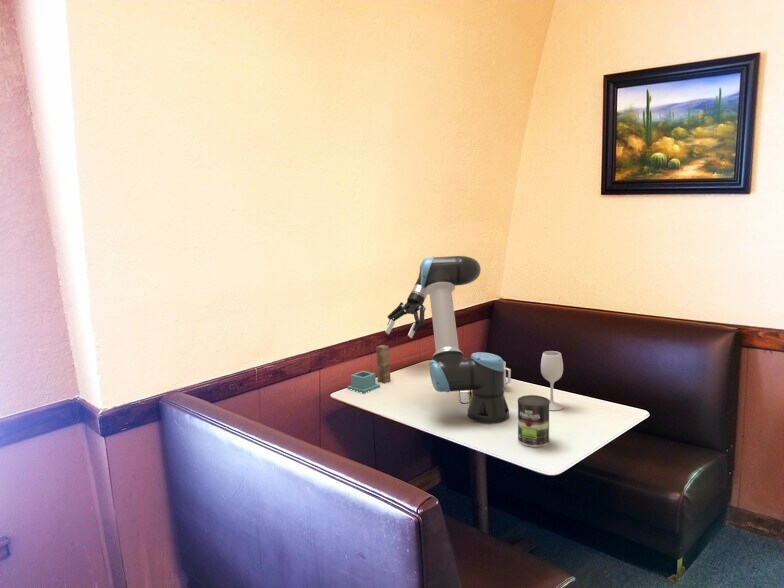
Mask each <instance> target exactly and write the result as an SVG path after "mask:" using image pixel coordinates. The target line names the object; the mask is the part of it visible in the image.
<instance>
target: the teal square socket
mask: <svg viewBox="0 0 784 588" xmlns="http://www.w3.org/2000/svg"><path fill="white" fill-rule="evenodd" d="M350 380H351V381H350V383H351V385H347V386H346V387H347V390H348V389H352V390H355V391H354V392H356V391H358V392H357V393H360V392H362V393H361V394H367V393H369V392H372V391H374V390H377V389H379V388H381V384H379V383H377V382H376V373H375V372H370V371H365V370H360V371H359V372H355V373H353V374H351V375H350ZM376 388H377V389H376ZM373 389H374V390H373ZM352 390H351V391H352ZM371 390H372V391H371ZM368 391H369V392H368ZM366 392H367V393H366Z"/></svg>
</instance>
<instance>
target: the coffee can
mask: <svg viewBox="0 0 784 588" xmlns="http://www.w3.org/2000/svg"><path fill="white" fill-rule="evenodd" d="M549 404H550V398H547V397H545V396H541V395H536V394H535V395H534V394H532V395H531V394H528V395H522V396H520V397H518V398H517V442H518V443H520V444H521V445H522V446H526V447H531V448H541V447H546V446H548V445H549V444H550V410H549Z"/></svg>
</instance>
